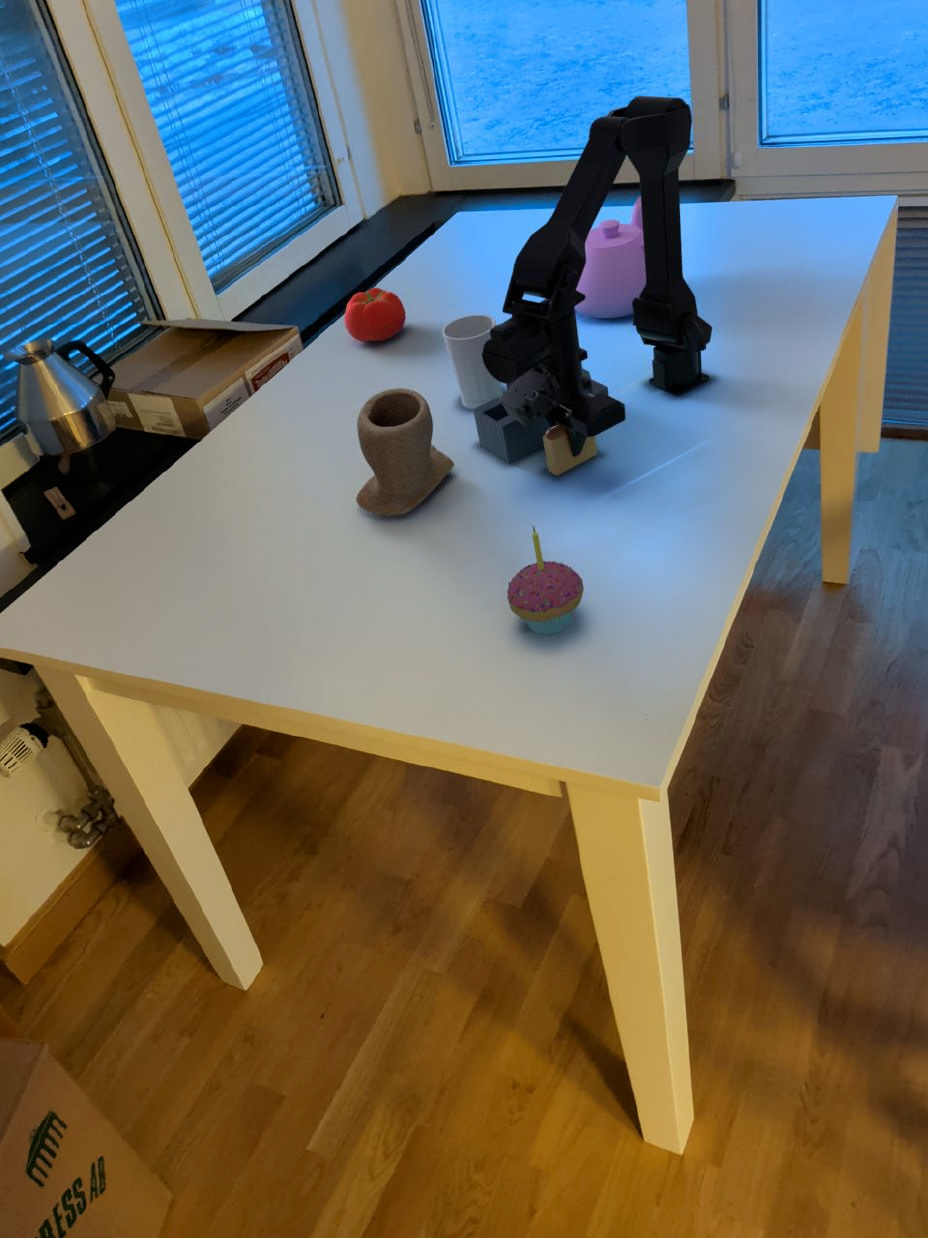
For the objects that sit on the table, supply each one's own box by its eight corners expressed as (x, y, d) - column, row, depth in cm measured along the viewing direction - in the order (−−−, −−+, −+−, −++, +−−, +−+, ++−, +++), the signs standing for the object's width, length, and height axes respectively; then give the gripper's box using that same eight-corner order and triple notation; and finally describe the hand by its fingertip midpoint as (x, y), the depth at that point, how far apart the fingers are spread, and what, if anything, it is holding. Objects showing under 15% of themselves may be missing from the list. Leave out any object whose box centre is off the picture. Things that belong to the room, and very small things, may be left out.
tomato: (397, 348, 182) (387, 307, 178) (340, 349, 186) (329, 310, 182) (418, 320, 190) (409, 280, 185) (363, 322, 194) (353, 283, 189)
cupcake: (509, 605, 123) (492, 522, 116) (580, 591, 123) (568, 506, 115) (518, 653, 117) (501, 568, 109) (594, 638, 116) (582, 552, 109)
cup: (503, 410, 159) (490, 336, 151) (452, 413, 161) (437, 341, 154) (512, 384, 165) (499, 312, 157) (462, 387, 167) (448, 316, 159)
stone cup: (416, 530, 139) (390, 431, 129) (347, 513, 145) (318, 417, 136) (478, 469, 148) (459, 372, 138) (411, 455, 154) (388, 362, 144)
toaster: (532, 419, 155) (526, 382, 152) (562, 436, 150) (557, 398, 146) (480, 445, 152) (472, 409, 149) (509, 464, 147) (502, 426, 143)
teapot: (707, 273, 182) (704, 192, 174) (655, 331, 170) (649, 246, 161) (593, 266, 194) (585, 190, 185) (536, 320, 181) (524, 241, 172)
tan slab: (588, 449, 146) (583, 408, 142) (597, 454, 145) (592, 412, 141) (547, 470, 144) (541, 429, 140) (556, 476, 142) (550, 434, 138)
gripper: (464, 350, 137) (484, 453, 147) (549, 395, 124) (565, 504, 134) (533, 318, 141) (548, 420, 151) (623, 358, 128) (633, 467, 138)
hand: (571, 452), depth 143 cm, fingers closed on tan slab, 2 cm apart
